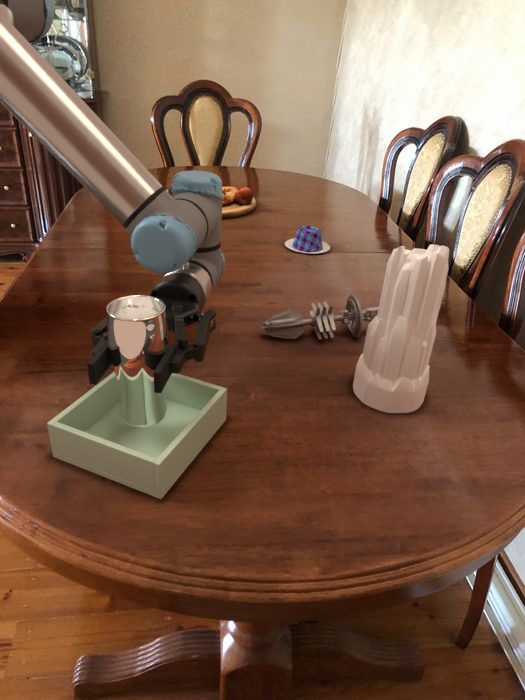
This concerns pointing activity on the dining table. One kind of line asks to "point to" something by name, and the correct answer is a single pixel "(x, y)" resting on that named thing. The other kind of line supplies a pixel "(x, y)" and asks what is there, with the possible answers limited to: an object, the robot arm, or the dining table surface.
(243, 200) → the wooden plate
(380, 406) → the decorative vase
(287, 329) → the spaceship
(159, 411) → the beer glass
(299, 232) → the pudding
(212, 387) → the tub
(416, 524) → the dining table surface
